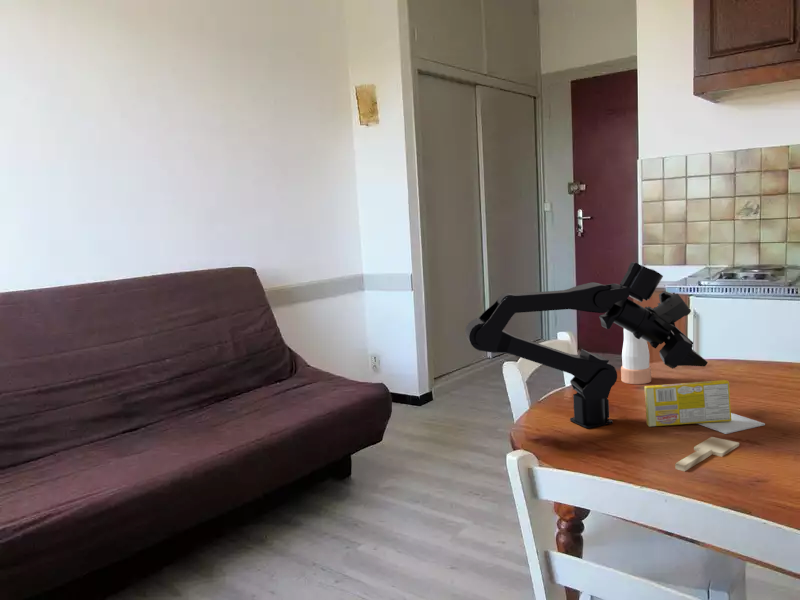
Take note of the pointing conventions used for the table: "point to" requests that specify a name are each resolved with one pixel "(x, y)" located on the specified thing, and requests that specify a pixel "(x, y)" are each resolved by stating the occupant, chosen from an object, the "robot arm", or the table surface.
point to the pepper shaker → (635, 360)
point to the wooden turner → (706, 452)
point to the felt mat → (733, 424)
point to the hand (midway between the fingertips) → (698, 354)
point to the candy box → (687, 403)
